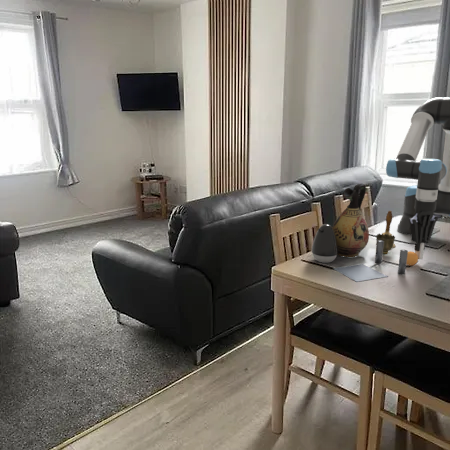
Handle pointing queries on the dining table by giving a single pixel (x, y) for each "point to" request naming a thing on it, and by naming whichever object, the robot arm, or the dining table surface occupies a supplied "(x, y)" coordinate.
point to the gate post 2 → (402, 262)
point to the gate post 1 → (379, 251)
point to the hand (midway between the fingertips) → (418, 258)
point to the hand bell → (388, 225)
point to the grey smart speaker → (325, 244)
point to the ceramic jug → (352, 224)
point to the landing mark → (360, 272)
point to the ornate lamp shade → (386, 242)
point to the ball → (412, 258)
